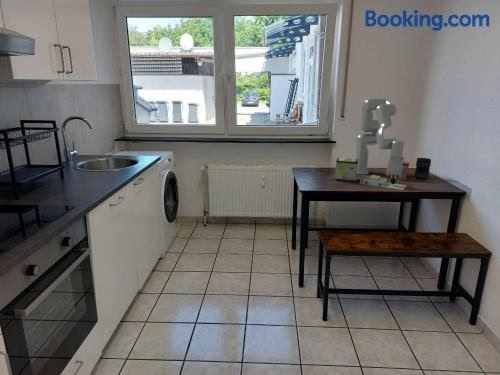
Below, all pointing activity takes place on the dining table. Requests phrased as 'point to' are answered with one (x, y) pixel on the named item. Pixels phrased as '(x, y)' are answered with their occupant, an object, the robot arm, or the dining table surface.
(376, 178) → the beige square block
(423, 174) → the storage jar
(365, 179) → the cart
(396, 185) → the track
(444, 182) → the dining table surface
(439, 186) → the dining table surface
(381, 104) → the robot arm
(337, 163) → the protein box
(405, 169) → the mug
